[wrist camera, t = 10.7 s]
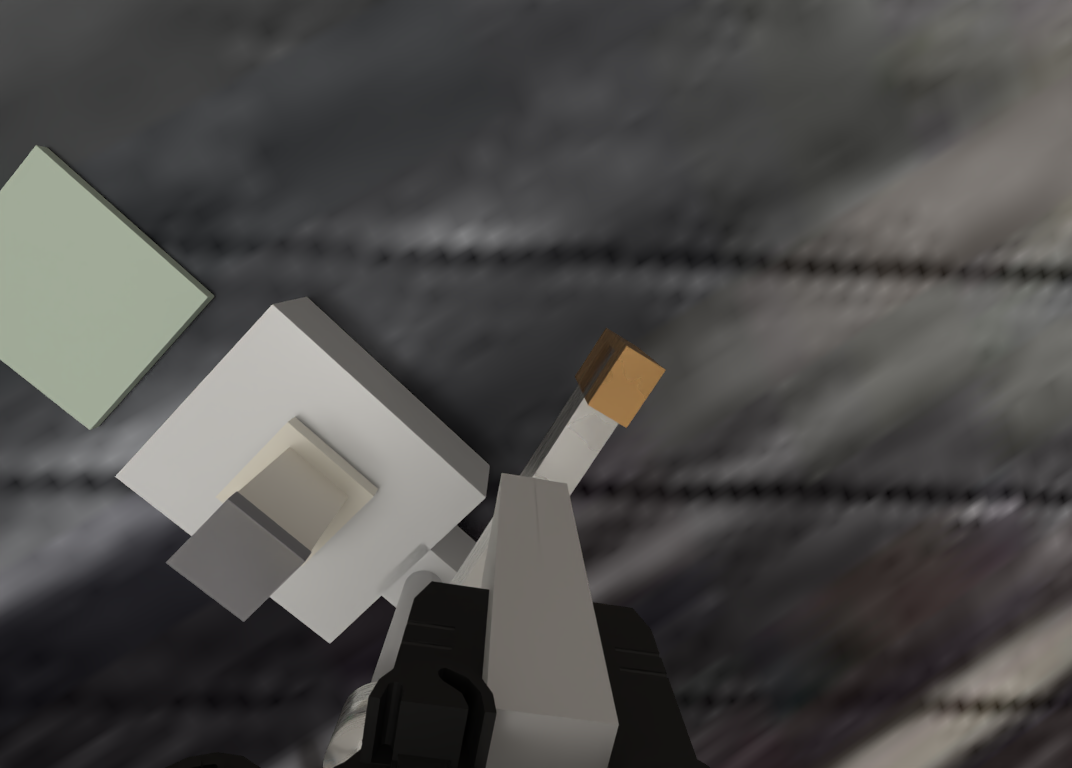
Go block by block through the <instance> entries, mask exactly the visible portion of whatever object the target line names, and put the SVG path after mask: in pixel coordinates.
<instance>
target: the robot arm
mask: <svg viewBox="0 0 1072 768" xmlns="http://www.w3.org/2000/svg"><path fill="white" fill-rule="evenodd" d="M166 768H260V767H259V766H257V765H256V764H254V763H253V762H251V761H250V760H248V759H247V758H245V757H243V756H238V755H232V754H225V753H219V752H217V753H211V754H205V755H199V756H193V757H188V758H186V759H183V760H181V761H179V762H177V763H175V764H172V765H170V766H168V767H166ZM333 768H710V767H709V766H707V765H706V764H704V763H702V762H701V761H699V760H697V758H696V755H695V753H694V750H693V747H692V744H691V741H690V738H689V736H688V733H687V730H686V727H685V724H684V721H683V719H682V716H681V713H680V710H679V707H678V705H677V702H676V699H675V696H674V693H673V690H672V688H671V685H670V682H669V679H668V678H666V671H665V668H664V665H663V662H662V659H661V658H660V657H659V651H658V648H657V645H656V642H655V640H654V637H653V634H652V631H651V629H650V628H649V627H648V626H647V624H646V623H645V622H644V621H643V620H642V619H641V617H640V616H639V615H638V614H637V613H636V612H635V610H634V609H633V608H628V607H621V606H614V605H607V604H600V603H593V602H592V598H591V593H590V588H589V584H588V579H587V575H586V570H585V565H584V561H583V556H582V551H581V547H580V542H579V537H578V533H577V528H576V523H575V519H574V514H573V510H572V505H571V500H570V496H569V491H568V486H567V483H561V482H555V481H549V480H543V479H536V478H530V477H524V476H518V475H512V474H506V473H502V474H501V479H500V484H499V490H498V495H497V501H496V506H495V511H494V517H493V522H492V528H491V533H490V538H489V544H488V549H487V555H486V560H485V565H484V571H483V576H482V583H481V588H475V587H469V586H462V585H455V584H448V583H441V582H434V581H431V582H430V583H429V584H428V585H427V586H426V587H425V588H424V589H423V590H422V591H421V592H420V593H419V594H418V595H417V596H416V597H415V598H414V600H413V604H412V607H411V610H410V614H409V617H408V621H407V625H406V627H405V631H404V634H403V638H402V642H401V644H400V648H399V651H398V655H397V658H396V661H395V665H394V668H393V669H392V670H391V671H389V672H388V673H386V674H385V675H384V676H382V677H381V678H380V679H379V680H378V682H377V683H376V685H375V687H374V688H373V690H372V692H371V693H370V695H369V697H368V703H367V710H366V717H365V724H364V731H363V738H362V746H361V749H360V750H359V751H358V752H356V753H355V754H354V755H353V756H351V757H350V758H349V759H348V760H346V761H345V762H343V763H341V764H339V765H337V766H335V767H333Z"/></svg>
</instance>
